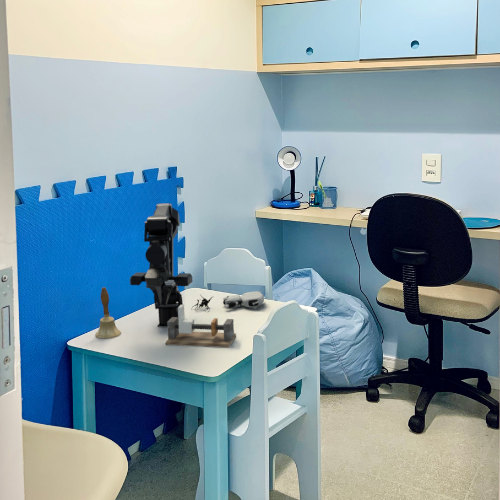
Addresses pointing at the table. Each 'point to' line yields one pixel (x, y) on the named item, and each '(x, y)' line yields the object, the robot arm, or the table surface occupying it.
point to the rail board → (201, 334)
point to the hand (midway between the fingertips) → (162, 305)
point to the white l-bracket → (184, 321)
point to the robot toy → (244, 300)
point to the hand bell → (107, 320)
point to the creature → (203, 303)
